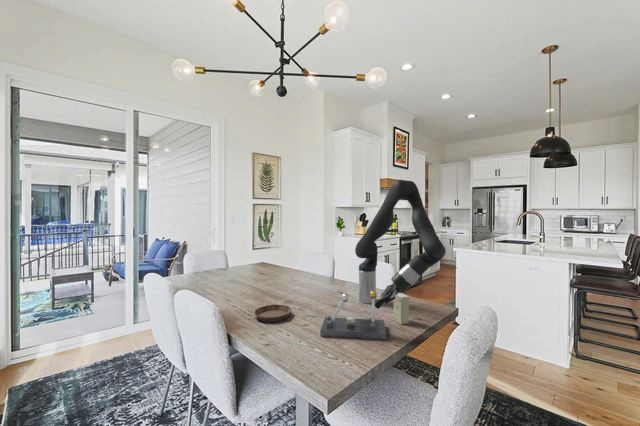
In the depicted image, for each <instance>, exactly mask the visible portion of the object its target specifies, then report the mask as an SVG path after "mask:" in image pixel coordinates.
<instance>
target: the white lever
mask: <svg viewBox="0 0 640 426" xmlns="http://www.w3.org/2000/svg"><path fill="white" fill-rule="evenodd" d="M349 298H350V297H349V294H348V293H347V292H344V293H342V296H341V300H340V302H339V304H338V305H337V307H336V309H335V310H334V312H333V314H332V317H331V319H330V321H332V323H333V321H334V319H335V318H337V316H338V314H339V313H340V311H341V309H342V307H343V305H344V304H345V303H346V302H348V301H349Z"/></svg>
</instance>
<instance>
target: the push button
mask: <svg viewBox="0 0 640 426" xmlns="http://www.w3.org/2000/svg"><path fill="white" fill-rule="evenodd" d="M346 318H347V324H350V325H353V324H355V319H356V318H355V317H353V316H348V317H346Z"/></svg>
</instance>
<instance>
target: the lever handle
mask: <svg viewBox="0 0 640 426" xmlns="http://www.w3.org/2000/svg"><path fill="white" fill-rule="evenodd" d="M377 296H378V295H377V290H376V291H375V290H371V291H370V297H371V298H372V303H371V314H370V315H371V316H370V318H371V323H374V318H375V315H376V314H375V309H376V307H375V303H376V302H375V298H376V299H377Z"/></svg>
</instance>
